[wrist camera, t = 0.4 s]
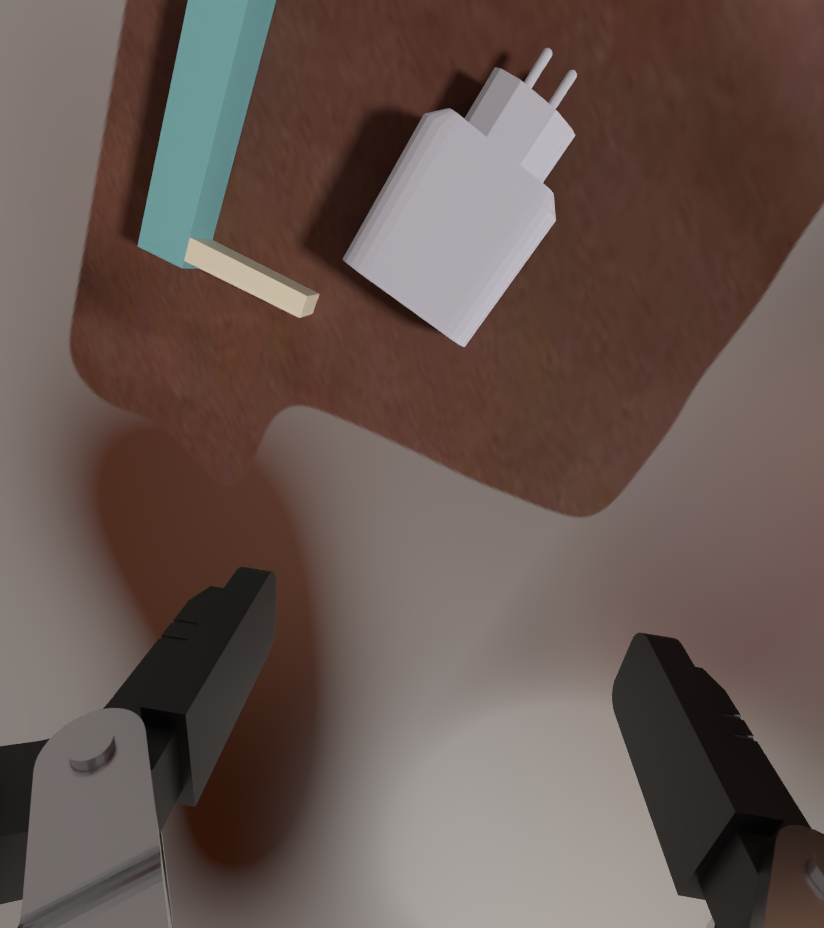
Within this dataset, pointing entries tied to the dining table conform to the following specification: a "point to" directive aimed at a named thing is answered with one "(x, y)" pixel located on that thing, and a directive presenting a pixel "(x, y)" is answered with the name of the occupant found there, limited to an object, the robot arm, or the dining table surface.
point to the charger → (466, 203)
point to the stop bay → (211, 149)
